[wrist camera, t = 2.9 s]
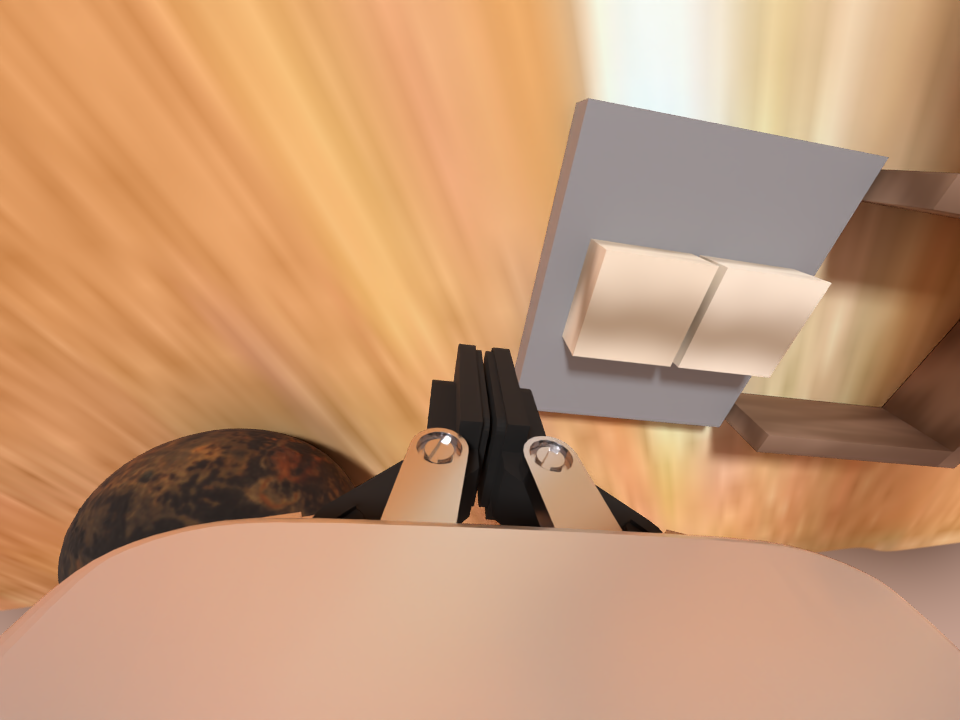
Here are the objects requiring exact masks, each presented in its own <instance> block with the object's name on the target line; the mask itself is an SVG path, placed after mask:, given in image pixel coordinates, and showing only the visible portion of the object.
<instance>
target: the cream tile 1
mask: <svg viewBox="0 0 960 720" xmlns="http://www.w3.org/2000/svg"><path fill="white" fill-rule="evenodd" d="M718 268H719V266H717V265H715V264H713V263H711V262H709V261H706V260H704V259H702V258H700V257H698V256H696V255H693V254H690V253H683V252H676V251H670V250H663V249H656V248H650V247H643V246H637V245H630V244H623V243H617V242H610V241H603V240H597V239H591V240H590V243H589V246H588V250H587V253H586V257H585V260H584V264H583V267H582V270H581V274H580V277H579V281H578V284H577V287H576V291H575V294H574V298H573V301H572V304H571V308H570V311H569V315H568V318H567V321H566V325H565V328H564V332H563V335H562V337H563V339H564V340H565V342H566V344H567V346H568V348H569V350H570V352H571V353H572V355H573V356H579V357H588V358H597V359H606V360H615V361H624V362H633V363H642V364H651V365H660V366H669V367H670V366H671V364H672V362H673V360H674V358H675V356H676V354H677V352H678V350H679V348H680V346H681V344H682V342H683V340H684V338H685V336H686V334H687V331H688V329H689V327H690V325H691V323H692V321H693V319H694V317H695V315H696V313H697V311H698V309H699V307H700V305H701V303H702V301H703V298H704V296H705V294H706V292H707V290H708V288H709V286H710V284H711V282H712V280H713V278H714V276H715V274H716V272H717V270H718Z"/></svg>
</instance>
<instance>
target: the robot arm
mask: <svg viewBox="0 0 960 720" xmlns="http://www.w3.org/2000/svg"><path fill="white" fill-rule="evenodd" d="M477 490H478V505H479V507H485V514H486V519H489V520H496V521H497V522H499V523H500V524H501V525H484V524H462V522H463V521H464V520H466V519H467V518H468V517H469V515H470V510H471V506H474V502H475V498H476V493H477ZM0 720H960V650H959V649H958V648H957V647H956V646H955V645H954V644H953V643H952V642H951V641H950V640H949V639H948V638H947V637H946V636H944V635H943V634H942V633H941V632H940V631H939V630H938V629H937V628H936V627H935V626H934V625H933V624H932V623H931V622H929V621H928V620H927V619H926V618H925V617H924V616H923V615H921V614H920V613H919V612H918V611H917V610H916V609H915V608H913V607H912V606H911V605H910V604H909V603H908V602H907V601H905V600H904V599H903V598H902V597H901V596H899V595H898V594H897V593H896V592H895V591H893V590H892V589H891V588H889V587H888V586H887V585H885V584H884V583H882V582H881V581H879V580H878V579H876V578H874V577H872V576H870V575H868V574H866V573H865V572H863V571H860V570H859V569H856V568H854V567H852V566H850V565H848V564H846V563H843V562H840V561H838V560H835V559H832V558H829V557H827V556H824V555H821V554H819V553H815V552H812V551H808V550H804V549H800V548H797V547H793V546H789V545H783V544H777V543H772V542H766V541H757V540H747V539H736V538H726V537H713V536H697V535H686V534H682V533H678V532H674V531H670V530H666V532H665V533H662V531H661V530H660V529H659V528H658V527H657V526H655V525H654V524H653V523H652V522H650V521H649V520H648V519H646V518H645V517H643V516H642V515H640V514H639V513H637V512H636V511H634V510H633V509H631V508H629V507H628V506H626V505H625V504H623V503H622V502H620V501H619V500H617V499H616V498H614V497H613V496H611V495H610V494H608V493H607V492H605V491H604V490H602V489H601V488H599V487H598V486H596V485H595V484H594V482H593V481H592V479H591V477H590V476H589V474H588V472H587V471H586V469H585V467H584V466H583V464H582V462H581V460H580V459H579V457H578V455H577V454H576V453H575V451H574V450H573V449H572V448H571V447H570V446H569V445H567V444H566V443H565V442H563V441H561V440H559V439H556V438H552V437H548V436H546V435H545V432H544V428H543V425H542V422H541V419H540V416H539V413H538V410H537V407H536V403H535V400H534V397H533V394H532V391H531V390H530V389H526V388H520V386H519V383H518V379H517V375H516V372H515V368H514V365H513V361H512V357H511V354H510V350H509V349H502V348H492V350H491V352H490V351H486V352H485V357H484V363H483V359H482V351H481V350H476V346H474V345H465V344H459V346H458V353H457V360H456V368H455V375H454V382H451V381H441V380H432V389H431V398H430V407H429V416H428V425H427V429H426V430H424V431H421V432H419V433H418V434H417V435H415V436H414V438H413V439H412V441H411V443H410V445H409V448H408V450H407V453H406V455H405V458H404V460H402V461H401V462H399V463H397V464H395V465H394V466H392V467H390V468H389V469H387V470H385V471H383V472H382V473H380V474H378V475H376V476H375V477H373V478H371V479H370V480H368V481H366V482H364V483H363V484H361V485H359V486H357V487H356V488H354V489H352V490H351V491H349V492H347V493H345V494H344V495H342V496H340V497H339V498H337V499H335V500H333V501H332V502H330V503H328V504H327V505H325V506H324V507H323V508H321V509H320V510H318V511H317V512H316V514H315V515H312V516H306V517H302V514H301V512H297V513H290V514H283V515H276V516H269V517H262V518H249V519H235V520H224V521H217V522H211V523H205V524H199V525H192V526H188V527H184V528H180V529H176V530H172V531H168V532H164V533H160V534H156V535H153V536H150V537H147V538H144V539H141V540H138V541H135V542H132V543H130V544H127V545H125V546H122V547H120V548H117V549H115V550H113V551H111V552H109V553H107V554H105V555H103V556H101V557H99V558H97V559H95V560H93V561H92V562H90V563H88V564H87V565H85V566H84V567H82V568H81V569H79V570H78V571H76V572H74V573H73V574H72V575H70V576H69V577H68V578H66V579H65V580H64V581H63V582H61V583H60V584H59V585H57V586H56V587H55V588H53V589H52V590H51V591H50V592H49V593H48V594H46V595H45V596H44V597H43V598H42V599H40V600H39V601H38V602H37V603H36V604H35V605H34V606H32V607H31V608H30V609H29V610H28V611H27V612H26V613H25V614H24V615H23V616H22V617H21V618H19V619H18V620H17V621H16V622H15V623H14V624H13V625H12V626H11V627H10V628H9V629H8V630H6V631H5V632H4V633H3V634H2V635H1V636H0Z"/></svg>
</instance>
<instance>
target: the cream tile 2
mask: <svg viewBox="0 0 960 720" xmlns="http://www.w3.org/2000/svg"><path fill="white" fill-rule="evenodd" d="M699 257H700V258H702V259H704V260H706V261H709V262H711V263H713V264H715V265H717V266H719V268H718V270H717V272H716V274H715V276H714V278H713V280H712V282H711V284H710V286H709V288H708V290H707V292H706V294H705V296H704V298H703V301H702V303H701V305H700V307H699V309H698V311H697V313H696V315H695V317H694V319H693V321H692V323H691V325H690V327H689V329H688V331H687V334H686V336H685V338H684V340H683V342H682V344H681V346H680V348H679V350H678V352H677V354H676V356H675V358H674V360H673V363H674V364H675V365H676V366H677V367H678V368H687V369H696V370H705V371H714V372H724V373H733V374H742V375H751V376H760V377H770V376H771V374H772V373H773V371H774V370H775V368H776V367H777V365H778V364H779V362H780V361H781V359H782V358H783V356H784V355H785V353H786V352H787V350H788V348H789V347H790V345H791V344H792V342H793V341H794V339H795V338H796V336H797V335H798V333H799V332H800V330H801V329H802V327H803V326H804V324H805V323H806V321H807V320H808V318H809V317H810V315H811V314H812V312H813V311H814V309H815V307H816V306H817V304H818V303H819V301H820V300H821V298H822V297H823V295H824V294H825V292H826V291H827V289H828V288H829V286H830V285H831V282H828V281H825V280H822V279H820V278H817V277H814V276H811V275H809V274H806V273H803V272H800V271H798V270H795V269H790V268H783V267H776V266H770V265H763V264H756V263H750V262H743V261H736V260H730V259H723V258H716V257H710V256H703V255H700V256H699Z"/></svg>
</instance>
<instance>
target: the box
mask: <svg viewBox="0 0 960 720" xmlns="http://www.w3.org/2000/svg"><path fill="white" fill-rule="evenodd" d="M862 201H863V202H869V203H874V204H880V205H885V206H891V207H897V208H902V209H908V210H913V211H919V212H925V213H930V214H936V215H941V216H947V217H953V218H958V219H960V174H959V173H940V172H920V171H901V170H880V172H879V173H878V175H877V177H876V178H875V180H874V181H873V183H872V185H871V186H870V188H869V189H868V191H867V193H866V194H865V196H864V197H863V199H862ZM725 420H726V421H727V422H728V423H729V424H730V425H731V426H732V427H733V428H734V429H735V430H736V431H737V432H738V433H739V434H740V435H741V436H742V437H743V438H744V439H745V440H746V441H747V442H748V443H749V444H750V445H751V446H752V447H753V448H754V449H755V450H756V451H757V452H765V453H777V454H789V455H801V456H813V457H825V458H837V459H849V460H861V461H873V462H884V463H896V464H908V465H920V466H932V467H944V468H955V467H956V466H957V465H958V464H960V321H959V322H958V323H957V324H956V325H955V326H954V327H953V328H952V330H951V331H950V332H949V333H948V334H947V335H946V336H945V337H944V339H943V340H942V341H941V342H940V343H939V344H938V345H937V346H936V348H935V349H934V350H933V351H932V352H931V353H930V354H929V355H928V357H927V358H926V359H925V360H924V361H923V362H922V363H921V364H920V366H919V367H918V368H917V369H916V370H915V371H914V372H913V373H912V375H911V376H910V377H909V378H908V379H907V380H906V381H905V382H904V384H903V385H902V386H901V387H900V388H899V389H898V390H897V391H896V392H895V394H894V395H893V396H892V397H891V398H890V399H889V400H888V401H887V403H886V404H885V405H884V406H883V407H882V408H879V407H870V406H860V405H851V404H841V403H831V402H822V401H812V400H803V399H793V398H783V397H774V396H764V395H755V394H745V393H741V394H740V395H739V397H738V398H737V400H736V402H735V403H734V405H733V406H732V408H731V410H730V411H729V413H728V414H727V416H726V418H725Z"/></svg>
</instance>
